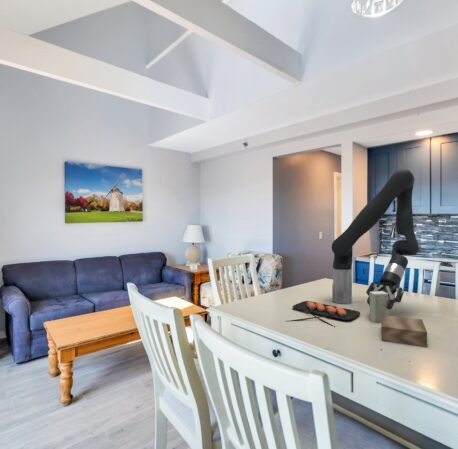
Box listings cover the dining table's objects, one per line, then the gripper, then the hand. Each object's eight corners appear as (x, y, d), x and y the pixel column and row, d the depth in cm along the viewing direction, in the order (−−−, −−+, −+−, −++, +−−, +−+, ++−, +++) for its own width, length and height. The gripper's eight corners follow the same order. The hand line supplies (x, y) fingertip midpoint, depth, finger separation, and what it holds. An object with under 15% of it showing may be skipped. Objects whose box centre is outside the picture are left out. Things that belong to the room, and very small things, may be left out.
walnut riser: (381, 340, 114) (381, 326, 114) (381, 327, 126) (381, 314, 126) (427, 346, 108) (427, 332, 108) (422, 332, 120) (422, 319, 120)
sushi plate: (363, 316, 142) (363, 307, 141) (331, 335, 120) (331, 325, 120) (306, 303, 162) (305, 296, 162) (270, 318, 141) (270, 310, 141)
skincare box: (383, 318, 136) (383, 290, 136) (388, 322, 132) (388, 293, 131) (369, 318, 136) (368, 291, 136) (373, 322, 132) (373, 293, 131)
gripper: (373, 268, 144) (359, 297, 138) (405, 273, 132) (391, 305, 126) (380, 278, 147) (366, 307, 141) (412, 283, 135) (398, 315, 129)
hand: (378, 306), depth 133 cm, fingers open, 8 cm apart
